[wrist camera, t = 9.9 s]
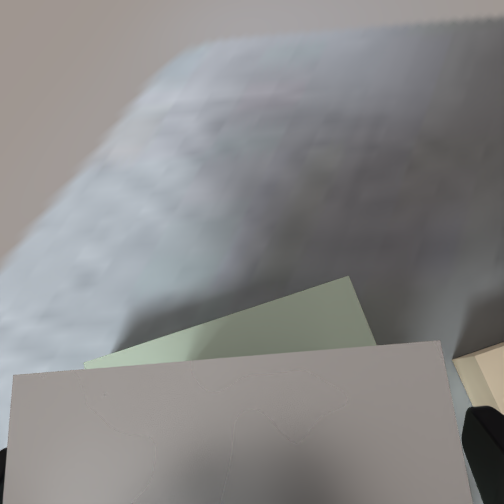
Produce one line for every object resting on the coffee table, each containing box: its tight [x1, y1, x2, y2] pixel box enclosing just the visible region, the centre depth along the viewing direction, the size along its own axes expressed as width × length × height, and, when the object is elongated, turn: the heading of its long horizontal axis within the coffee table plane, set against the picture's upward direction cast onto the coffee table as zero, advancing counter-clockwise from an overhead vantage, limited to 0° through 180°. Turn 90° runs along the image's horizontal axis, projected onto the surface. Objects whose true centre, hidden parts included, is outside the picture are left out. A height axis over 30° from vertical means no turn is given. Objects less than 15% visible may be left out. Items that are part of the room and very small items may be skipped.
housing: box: [3, 340, 473, 504], centre depth 10 cm, size 6×6×10 cm
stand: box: [84, 276, 377, 369], centre depth 15 cm, size 10×10×2 cm
